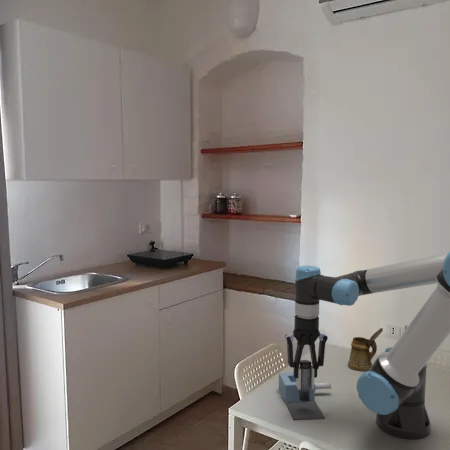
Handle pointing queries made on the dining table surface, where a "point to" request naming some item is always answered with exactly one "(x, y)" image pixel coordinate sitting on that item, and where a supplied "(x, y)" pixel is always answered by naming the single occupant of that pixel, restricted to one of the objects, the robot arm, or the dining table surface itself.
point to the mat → (305, 411)
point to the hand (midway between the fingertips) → (305, 387)
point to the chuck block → (291, 391)
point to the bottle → (305, 380)
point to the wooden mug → (363, 352)
